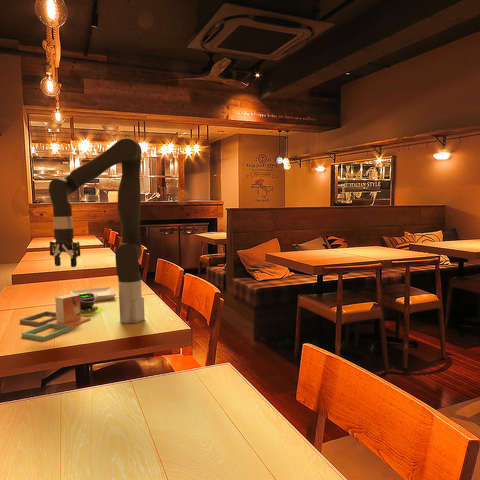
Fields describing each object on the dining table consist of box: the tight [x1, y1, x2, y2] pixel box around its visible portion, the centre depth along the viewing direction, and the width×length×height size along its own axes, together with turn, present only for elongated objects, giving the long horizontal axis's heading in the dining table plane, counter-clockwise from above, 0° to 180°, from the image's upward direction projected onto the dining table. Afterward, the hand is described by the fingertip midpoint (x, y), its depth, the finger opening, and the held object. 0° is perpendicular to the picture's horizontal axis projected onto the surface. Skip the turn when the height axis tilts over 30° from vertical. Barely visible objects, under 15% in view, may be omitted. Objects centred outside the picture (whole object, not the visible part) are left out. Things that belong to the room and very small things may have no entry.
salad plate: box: [69, 286, 117, 302], centre depth 209 cm, size 21×21×3 cm
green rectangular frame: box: [21, 323, 73, 342], centre depth 154 cm, size 11×13×2 cm
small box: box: [54, 293, 82, 323], centre depth 167 cm, size 8×6×10 cm
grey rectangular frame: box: [19, 311, 56, 327], centre depth 172 cm, size 11×13×2 cm
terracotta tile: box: [47, 316, 92, 328], centre depth 168 cm, size 12×12×1 cm
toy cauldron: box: [78, 287, 104, 317], centre depth 184 cm, size 15×15×11 cm
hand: (65, 266), depth 167 cm, fingers open, 8 cm apart
